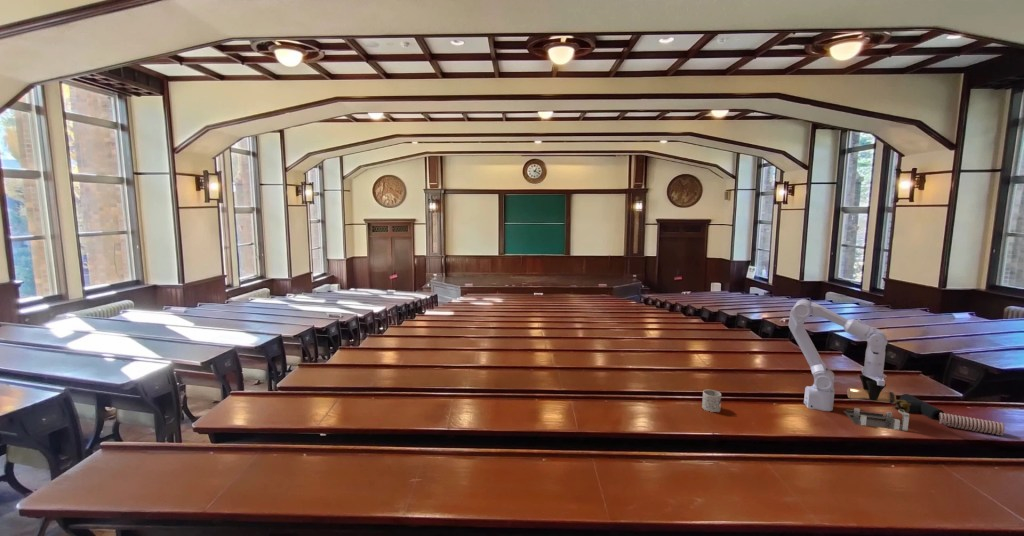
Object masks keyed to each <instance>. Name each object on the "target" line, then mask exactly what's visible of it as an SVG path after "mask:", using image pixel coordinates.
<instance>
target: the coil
mask: <svg viewBox="0 0 1024 536" xmlns="http://www.w3.org/2000/svg"><path fill="white" fill-rule="evenodd" d="M938 421H939V424H942V425H944V426H945V427H949V428H953V427H954V428H955V429H960V430H967V431H971V432H976V433H983V432H984V433H983V434H987V433H992V434H991V435H994V434H996V435H995V436H999V435H1001V436H1003V435H1004V436H1005V434H1004V433H1005V425H1004V423H1003V422H998V421H995V420H993V421H991V420H987V419H981V418H980V419H979V418H976V417H973V418H972V417H968V416H964V415H956V414H950V413H945V412H944V413H939V420H938ZM978 431H979V432H978ZM991 431H992V432H991ZM995 432H996V433H995ZM998 434H999V435H998Z"/></svg>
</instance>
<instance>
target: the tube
mask: <svg viewBox="0 0 1024 536" xmlns="http://www.w3.org/2000/svg"><path fill="white" fill-rule="evenodd" d="M846 394H847V397H848V399H850V400H861V401H870V402H877V403H886V404H887V403H888V404H895V402H896V400H897V396H896V393H895V392H894V391H885V390H882V391H881V392H880V394H879V397H878V399H877V400H870V399H869V390H867V389H863V388H856V387H848V388H847V390H846Z"/></svg>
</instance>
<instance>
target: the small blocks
mask: <svg viewBox="0 0 1024 536" xmlns="http://www.w3.org/2000/svg"><path fill="white" fill-rule="evenodd" d="M853 410H854V416H853V417H854V418H859V415H860V411H861V409H860V408H859V407H858V408H857V407H854V409H853ZM885 416H886V417H885V421H886V422H891V419H892V417H893V413H892V412H891V411H886V412H885ZM866 419H867V416H866V415H861V417H860V425H859V426H866ZM900 424H901V420H900V419H899V418H898V419H897V418H895V419H894V421H893V429H892V430H897V431H900V430H899V426H900ZM866 427H867V426H866Z"/></svg>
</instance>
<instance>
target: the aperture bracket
mask: <svg viewBox="0 0 1024 536" xmlns="http://www.w3.org/2000/svg"><path fill="white" fill-rule="evenodd" d="M897 410H898V411H897V412H898V413H899V414H901V415H902V418H901V430H900V431H903V430H904V432H908V431H909V430H908V429H909V421H910V413H906V412H905V411H904V410H899V409H897ZM907 430H908V431H907Z"/></svg>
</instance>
